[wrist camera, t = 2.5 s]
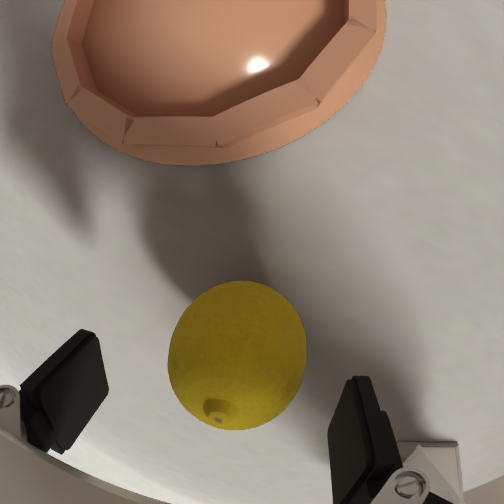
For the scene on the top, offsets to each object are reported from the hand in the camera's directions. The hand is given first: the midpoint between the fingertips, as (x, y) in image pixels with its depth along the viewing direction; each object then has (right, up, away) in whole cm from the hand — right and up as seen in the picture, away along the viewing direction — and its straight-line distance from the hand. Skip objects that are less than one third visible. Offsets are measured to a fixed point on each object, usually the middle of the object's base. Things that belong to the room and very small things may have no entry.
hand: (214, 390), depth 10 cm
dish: (-1, +18, +2) cm, 18 cm away
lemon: (+1, +2, +6) cm, 7 cm away
